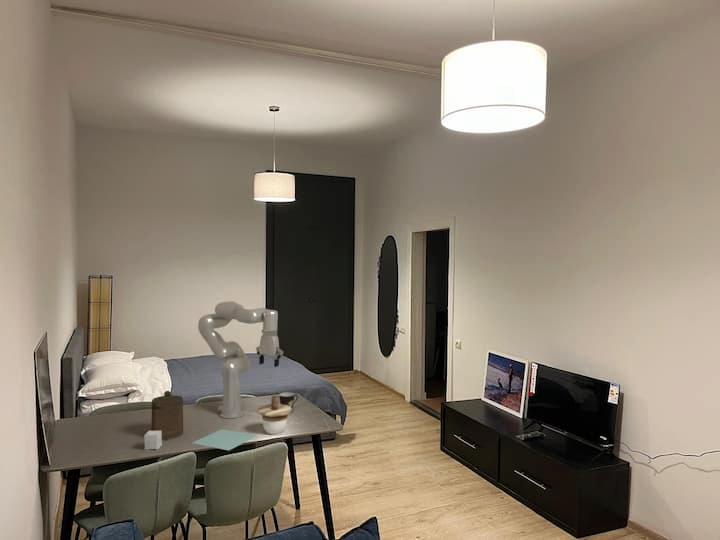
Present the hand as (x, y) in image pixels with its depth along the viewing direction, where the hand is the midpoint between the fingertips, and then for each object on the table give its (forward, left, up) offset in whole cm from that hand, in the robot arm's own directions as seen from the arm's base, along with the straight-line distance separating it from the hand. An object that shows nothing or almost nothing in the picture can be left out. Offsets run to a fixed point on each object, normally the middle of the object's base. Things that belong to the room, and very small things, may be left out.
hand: (268, 365), depth 284 cm
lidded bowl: (+12, -12, -31) cm, 36 cm away
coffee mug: (-1, +22, -31) cm, 38 cm away
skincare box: (-27, -54, -31) cm, 68 cm away
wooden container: (-34, -38, -31) cm, 60 cm away
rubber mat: (-4, -31, -31) cm, 44 cm away
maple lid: (+12, -12, -20) cm, 26 cm away
